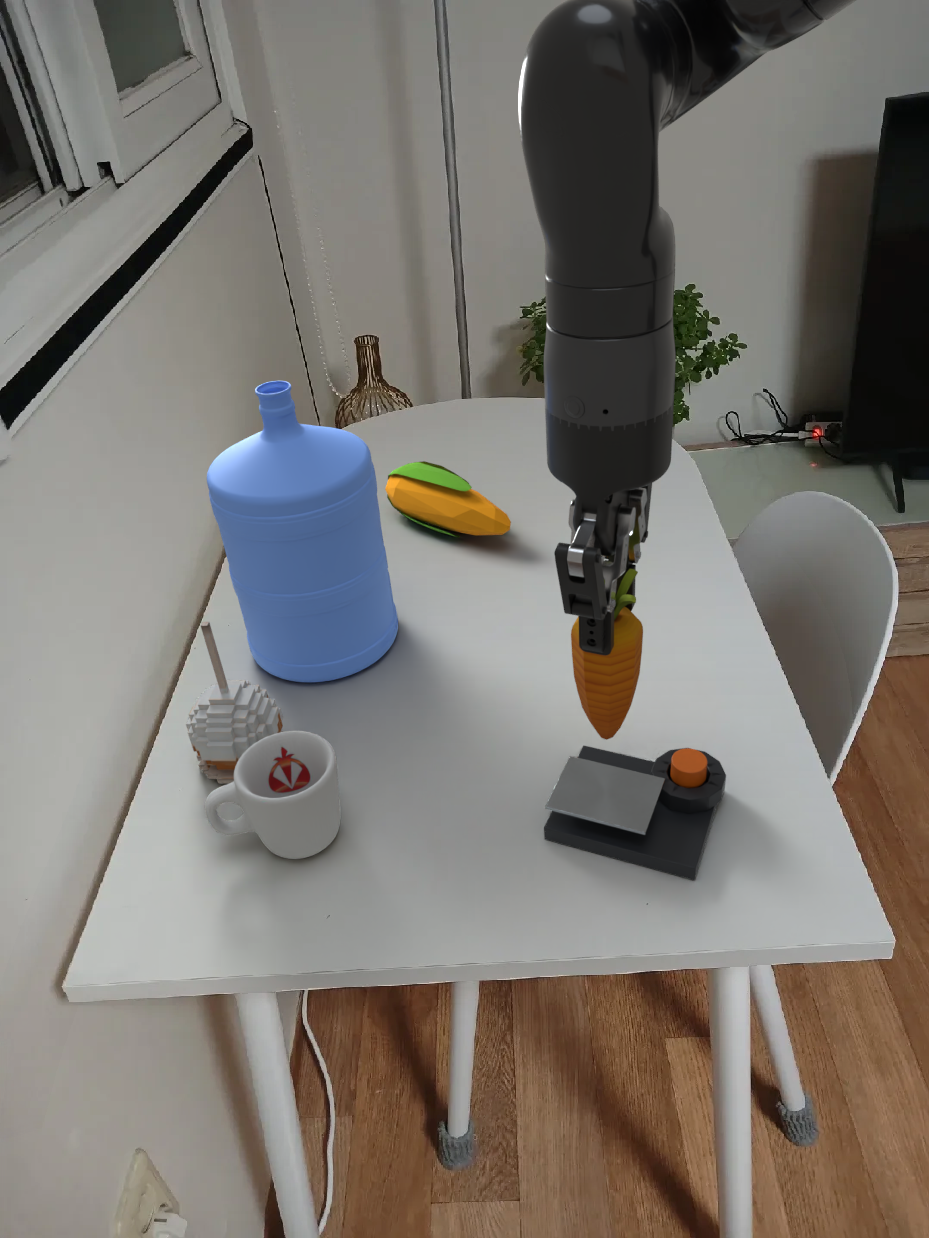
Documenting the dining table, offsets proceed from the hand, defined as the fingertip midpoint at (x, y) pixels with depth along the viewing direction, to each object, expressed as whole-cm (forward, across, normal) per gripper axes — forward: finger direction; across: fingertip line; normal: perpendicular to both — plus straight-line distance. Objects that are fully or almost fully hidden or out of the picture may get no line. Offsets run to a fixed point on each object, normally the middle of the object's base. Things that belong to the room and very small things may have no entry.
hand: (607, 627), depth 66 cm
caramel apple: (+20, -3, +33) cm, 39 cm away
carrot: (+11, 0, 0) cm, 11 cm away
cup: (+20, -10, +24) cm, 33 cm away
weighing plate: (+16, 0, 0) cm, 16 cm away
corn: (+20, +40, +32) cm, 55 cm away
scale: (+19, +2, -2) cm, 20 cm away
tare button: (+17, +4, -5) cm, 18 cm away
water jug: (+20, +15, +35) cm, 43 cm away
